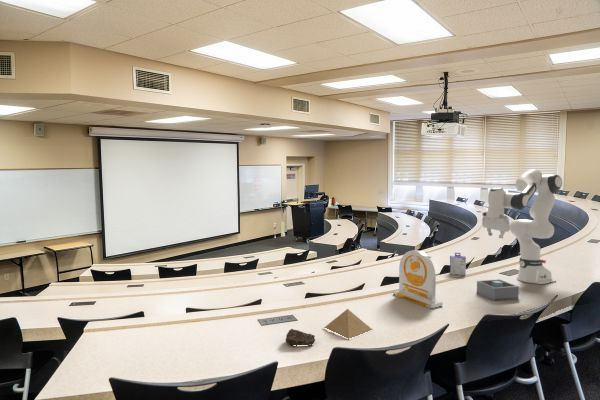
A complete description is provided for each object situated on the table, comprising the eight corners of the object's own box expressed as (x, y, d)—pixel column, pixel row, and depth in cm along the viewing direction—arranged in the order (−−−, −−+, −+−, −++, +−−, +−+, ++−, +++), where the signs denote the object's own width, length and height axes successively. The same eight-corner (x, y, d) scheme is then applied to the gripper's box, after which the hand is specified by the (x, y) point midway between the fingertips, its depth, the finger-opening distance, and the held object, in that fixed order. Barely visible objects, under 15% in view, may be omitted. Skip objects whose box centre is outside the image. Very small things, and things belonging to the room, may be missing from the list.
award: (392, 294, 227) (393, 247, 225) (404, 292, 231) (404, 245, 229) (430, 309, 202) (431, 256, 200) (442, 306, 207) (443, 254, 205)
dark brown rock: (282, 346, 160) (282, 334, 160) (292, 337, 169) (292, 325, 169) (309, 351, 156) (309, 338, 156) (317, 341, 165) (317, 329, 165)
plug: (497, 292, 226) (497, 280, 225) (502, 294, 222) (502, 282, 221) (491, 293, 225) (491, 281, 224) (496, 295, 221) (496, 283, 221)
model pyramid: (345, 320, 189) (345, 299, 188) (374, 331, 176) (374, 309, 175) (320, 329, 178) (320, 307, 177) (349, 341, 165) (349, 318, 164)
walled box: (499, 291, 232) (499, 279, 232) (518, 298, 218) (518, 286, 217) (476, 292, 229) (477, 280, 229) (494, 300, 215) (494, 288, 214)
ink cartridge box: (464, 273, 273) (464, 252, 272) (466, 275, 268) (466, 254, 267) (449, 272, 275) (449, 252, 274) (450, 274, 270) (451, 253, 269)
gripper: (513, 216, 230) (512, 239, 231) (489, 212, 250) (488, 234, 251) (503, 216, 229) (503, 240, 230) (480, 212, 249) (480, 234, 250)
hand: (495, 236), depth 241 cm, fingers open, 8 cm apart
